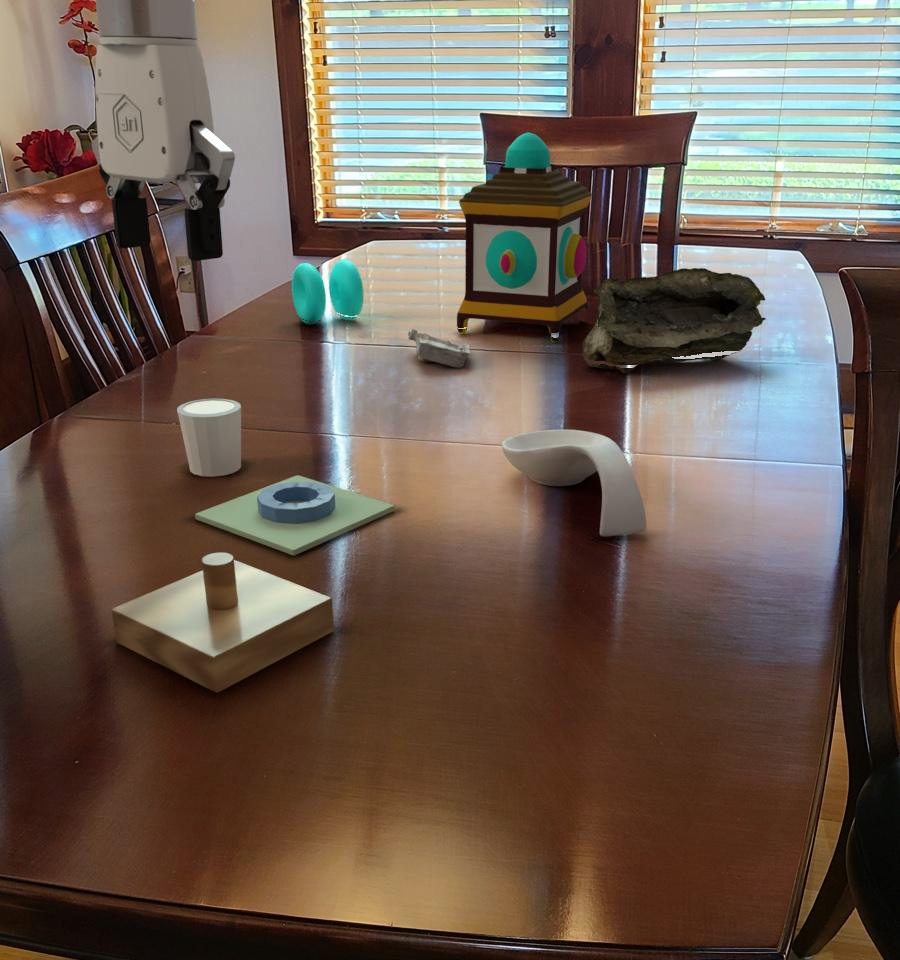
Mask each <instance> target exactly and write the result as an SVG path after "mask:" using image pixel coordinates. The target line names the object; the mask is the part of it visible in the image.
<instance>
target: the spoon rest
mask: <svg viewBox="0 0 900 960" xmlns="http://www.w3.org/2000/svg"><path fill="white" fill-rule="evenodd" d="M501 450H502V452H503V454H504V456H505V458H506V460H508V462H509V463H510V464H511V465H512V466H513V467H514V468H515V469H516V470H518V471H519V472H521V473H522V474H523V475H525V476H527V477H528V478H529V479H530V480H531V481H532V482H534V483H536V484H538V485H543V486H549V487H568V486H574V485H577V484H580V483H582V482H583V481H584V480H585V479H586V478H589V477H590V476H592V475H593V474H594V473H596V472H597V473H598V476H599V480H600V486H601V512H600V524H599V535H600V537H605V538H609V537H616V536H624V535H631V534H633V535H634V534H637V533H642V532H645V531H646V530H647V515H646V509H645V503H644V499H643V496H642V492H641V490H640V487H639V485H638V481H637V478H636V476H635V474H634V471H633V469H632V467H631V465H630V463H629V461H628V458H626V455H625V454H624V452H623V451H622V449H621V447H620V446H619V445H618V444H617V443H616V442H615V441H614V440H612V438H610V437H607V436H606V435H603V434H600V433H596V432H592V431H585V430H579V429H545V430H538V431H529V432H523V433H518V434H515V435H512V436H509V437H507V438H506V439H504V440H503V441H502V442H501Z"/></svg>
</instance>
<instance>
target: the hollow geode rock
mask: <svg viewBox="0 0 900 960" xmlns="http://www.w3.org/2000/svg"><path fill="white" fill-rule="evenodd" d="M593 295H597V296H598V299H599V302H600V303H599V305H598V306H597V310H598V313H599V314H598V318H597V320H596V322H595V324H594V326H593V328H592V329H591V330H590V332H589V333H588V334H587V335H586V337H585V338H584V339H583V341H582V355H583V359H584V358H585V359H588V360H592V361H605V362H608V363H610V364H613V365H638V364H640V365H641V363H642V364H649V363H650V362H651V361H656V360H661V361H663V362H664V363H679V362H680V363H684V362H687V361H698V360H704V361H705V360H711V361H713V360H716V359H718V360H723V358H724V359H725V358H726V357H729V356H730V355H722V356H715V357H702V358H695V359H674V358H672V357H680V356H684V357H686V356H691V355H697V354H698V355H699V354H702V353H712V352H721V351H722V352H724V351H739V352H740V351H742V350H743V349H744V348H745V347H746V346H747V343H748V342H749V341H750V339H751V337H752V335H753V332H752V331H753V330H754V328H758V327H759V326H761V325H762V324H763V322H764V321H766V317H762V314H761V313H760V310H759V308H758V306H759V305H760V304H761V302H762V301H766V297H765V295H764V294H763V293H762V292H761V290H760V289H759V287H758V286H757V285H756V283H755V282H754V281H753V280H752V279H751V278H750V277H748V276H744V275H742V274H737V273H735V274H733V273H731V272H722V273H719V272H716V271H712V270H710V269H707V268H705V267H704V268H703V267H700V268H699V267H698V268H697V267H691V268H687V267H686V268H683V267H682V268H679V269H674V270H671V271H667V272H664V273H662V274H660V275H656V276H648V277H647V276H641V277H639V276H638V277H637V276H636V277H632V278H629V279H626V280H621V279H619V278H615V277H609V278H606V279H604V280H602V282H600V283H599V285H598V286H597V287H596V288H595V289H594V290H593ZM585 359H584V360H585ZM586 363H587V365H588V366H590V367H592V368H598V369H602V370H607V371H608V370H609V371H610V370H613V371H618V372H621V373H623V374H625V373H628V372H630V371H633V370H634V369H635V368H620V367H616V366H609V365H606V364H600V365H598V364H592V363H588V362H586ZM638 366H639V365H638Z"/></svg>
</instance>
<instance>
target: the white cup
mask: <svg viewBox="0 0 900 960" xmlns="http://www.w3.org/2000/svg"><path fill="white" fill-rule="evenodd" d="M176 410H177V417H178V421H179V426H180V430H181V434H182V440H183V443H184V448H185V449H184V450H185V453H186V458H187V462H188V468H189V472H190V473H192V474H193V475H196V476H199V477H212V478H213V477H224V476H228V475H230V474H231V475H232V474H234V473H236V472H237V471H239V470H240V469H241V468H242V405H241V403H240V402H238V401H236V400H234V399H233V400H232V399H227V398H203V399H196V400H190V401H188V402H185V403H182V404H180V405H179V406H178V407H176Z"/></svg>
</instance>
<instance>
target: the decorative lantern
mask: <svg viewBox="0 0 900 960" xmlns="http://www.w3.org/2000/svg"><path fill="white" fill-rule="evenodd" d="M550 153H551V152H550V149H549V147H548V146H547V144H545V142H544V140H542V139H541V137H540V136H538V135H537V134H535V133H531V132H526V133H523V134H520V135H519V136H518V137H517V138H516V139H514V141H513V142H512V143H511V144H510V145H509V147H507V150H506V153H505V165H502V166H499V170H498V172H496V173H493V175H492V177H491V178H490V179H487V180H486V181H485V183H482V184H478V185H474V186H472V187H471V188H470V191H467V192H465V194H464V195H463V197H462V198H460V199H459V201H458V204H459V207H460V209H461V211H462V214H463V216H464V220H465V248H464V251H465V252H464V253H465V269H464V270H465V276H464V277H465V281H464V282H465V283H464V284H465V287H464V288H465V290H464V298H463V300H462V302H461V304H460V306H459V308H458V310H457V314H456V329H457V332H458V333H459V334H460V335H465V334H466V333H467V331H468V324H469V320H470V319H471V320H472V319H474V320H486V321H495V322H506V323H507V322H509V323H521V324H531V325H532V324H533V325H542V326H546V327H547V328H548V330H549V333H550V332H551V333H558V332H560V333H561V327H562V325H563V323H564V322H565V321H567V320H569V319H570V318H571V317H572V316H574V315H577V312H578V311H580V310H586V309H588V310H589V301H588V300H587V296H586V294H585V292H584V290H583V286H582V272H583V271H584V269H585V267H586V263H587V251H588V250H587V245H586V241H585V239H584V236H585V235H584V234H585V214H586V210H587V208H588V206H589V204H590V202H591V200H592V197H593V194H592V192H591V191H589V190H588V187H586V186H583V185H582V182H580V181H577V180H576V181H573V180H570V179H569V177H568V176H565V175H563V173H562V171H561V170H559V169H558V170H557V169H556V164H551V154H550ZM457 327H458V328H464V327H467V328H466V329H458V328H457ZM559 339H560V336H559V337H558V338H553V337H550V341H551V343H557V342H558V341H559Z"/></svg>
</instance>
